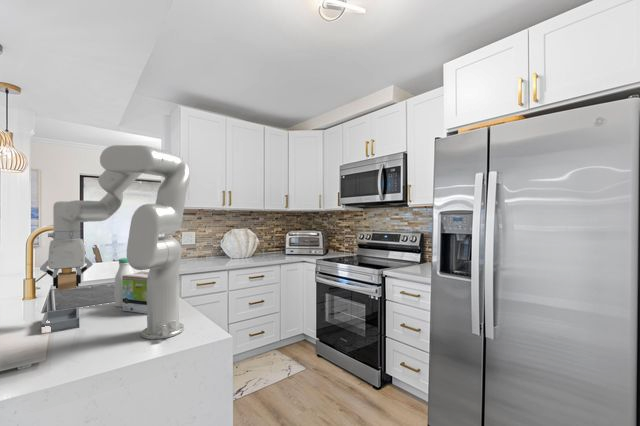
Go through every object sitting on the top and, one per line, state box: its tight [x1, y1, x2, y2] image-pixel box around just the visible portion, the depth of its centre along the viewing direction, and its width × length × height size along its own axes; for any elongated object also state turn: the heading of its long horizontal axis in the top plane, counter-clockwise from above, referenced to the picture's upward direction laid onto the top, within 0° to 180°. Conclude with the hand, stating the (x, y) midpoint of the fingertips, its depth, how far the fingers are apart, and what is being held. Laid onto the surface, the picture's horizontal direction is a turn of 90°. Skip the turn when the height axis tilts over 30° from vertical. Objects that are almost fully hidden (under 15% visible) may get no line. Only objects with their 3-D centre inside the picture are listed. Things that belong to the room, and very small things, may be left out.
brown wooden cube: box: [57, 270, 77, 291], centre depth 112 cm, size 5×5×5 cm
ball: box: [60, 268, 73, 274], centre depth 112 cm, size 3×3×3 cm
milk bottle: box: [114, 257, 135, 308], centre depth 137 cm, size 8×8×20 cm
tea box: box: [122, 270, 149, 315], centre depth 130 cm, size 15×10×15 cm, turn 73°
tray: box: [40, 306, 80, 334], centre depth 113 cm, size 17×10×3 cm, turn 38°
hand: (67, 286), depth 112 cm, fingers closed on brown wooden cube, 5 cm apart
